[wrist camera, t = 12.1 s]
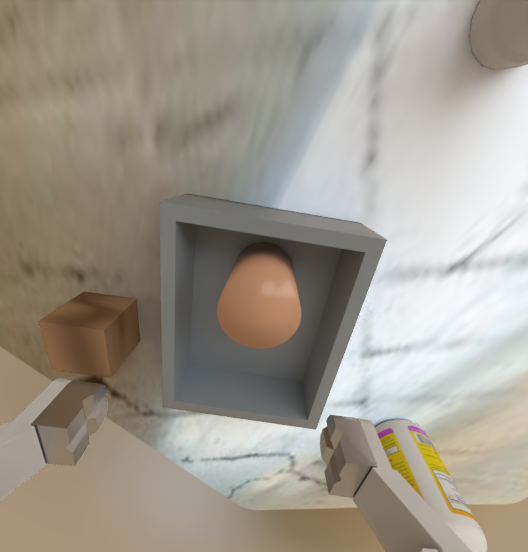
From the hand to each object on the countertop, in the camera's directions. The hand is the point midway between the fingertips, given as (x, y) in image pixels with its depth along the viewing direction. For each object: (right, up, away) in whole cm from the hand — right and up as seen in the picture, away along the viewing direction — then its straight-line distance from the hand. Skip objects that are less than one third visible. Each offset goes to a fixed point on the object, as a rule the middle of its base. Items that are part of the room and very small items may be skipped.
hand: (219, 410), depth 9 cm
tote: (+1, +2, +14) cm, 14 cm away
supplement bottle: (+17, -14, +21) cm, 31 cm away
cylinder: (+2, +5, +12) cm, 13 cm away
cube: (-13, +1, +15) cm, 20 cm away
